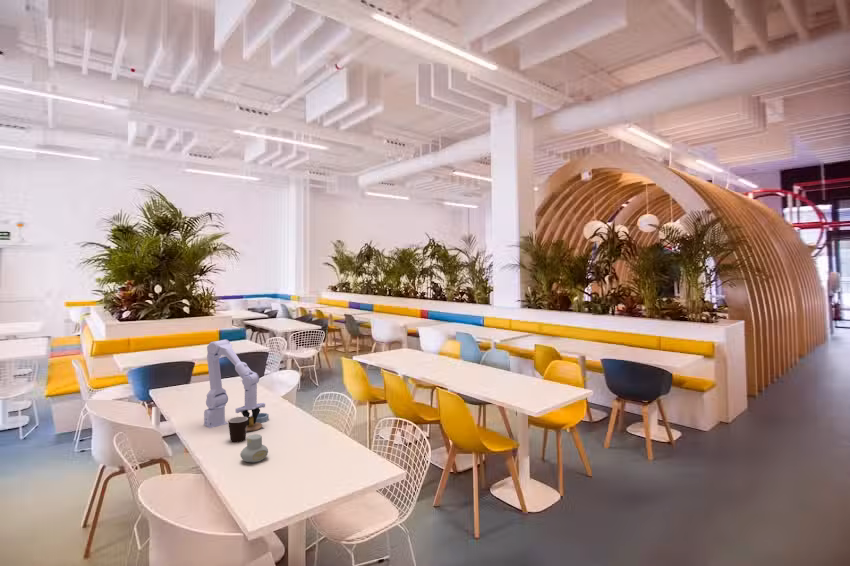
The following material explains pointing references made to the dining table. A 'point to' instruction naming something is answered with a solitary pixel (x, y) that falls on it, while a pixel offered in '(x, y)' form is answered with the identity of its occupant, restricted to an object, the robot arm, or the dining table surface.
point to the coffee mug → (238, 428)
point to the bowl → (262, 417)
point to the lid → (253, 425)
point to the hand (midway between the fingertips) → (250, 424)
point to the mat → (255, 430)
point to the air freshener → (254, 449)
